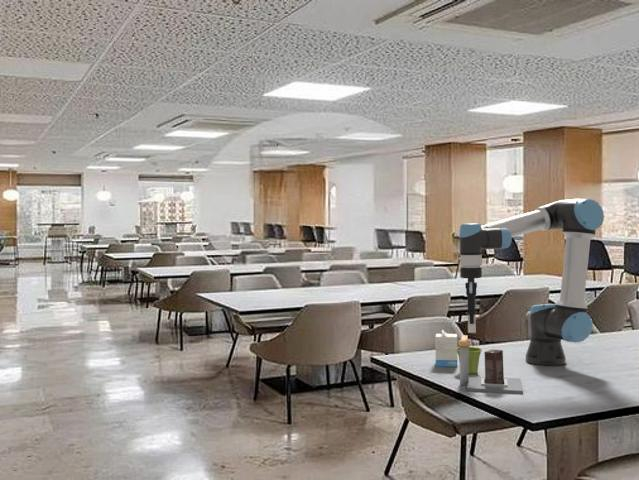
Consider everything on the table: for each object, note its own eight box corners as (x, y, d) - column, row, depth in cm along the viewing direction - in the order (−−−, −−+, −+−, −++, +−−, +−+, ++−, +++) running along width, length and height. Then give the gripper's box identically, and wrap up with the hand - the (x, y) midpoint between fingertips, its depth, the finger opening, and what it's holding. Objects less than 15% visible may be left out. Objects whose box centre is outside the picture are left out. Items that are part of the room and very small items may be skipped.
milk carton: (457, 367, 263) (457, 332, 263) (435, 366, 265) (435, 332, 265) (457, 362, 272) (457, 329, 272) (436, 362, 274) (435, 328, 273)
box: (492, 383, 237) (491, 348, 237) (504, 385, 234) (504, 350, 234) (484, 386, 232) (483, 351, 232) (496, 388, 229) (496, 353, 229)
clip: (459, 339, 247) (459, 335, 247) (470, 339, 246) (470, 335, 246) (458, 346, 234) (458, 341, 234) (470, 346, 233) (470, 342, 233)
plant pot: (467, 376, 248) (467, 352, 248) (451, 371, 257) (450, 348, 256) (487, 373, 253) (487, 349, 252) (470, 368, 261) (470, 345, 261)
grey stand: (520, 381, 240) (520, 343, 239) (522, 393, 222) (522, 353, 222) (460, 378, 245) (460, 341, 244) (458, 390, 227) (458, 351, 227)
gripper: (460, 265, 251) (462, 329, 252) (459, 268, 238) (460, 335, 239) (481, 265, 249) (482, 329, 250) (481, 268, 236) (482, 335, 237)
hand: (471, 332), depth 244 cm, fingers closed
